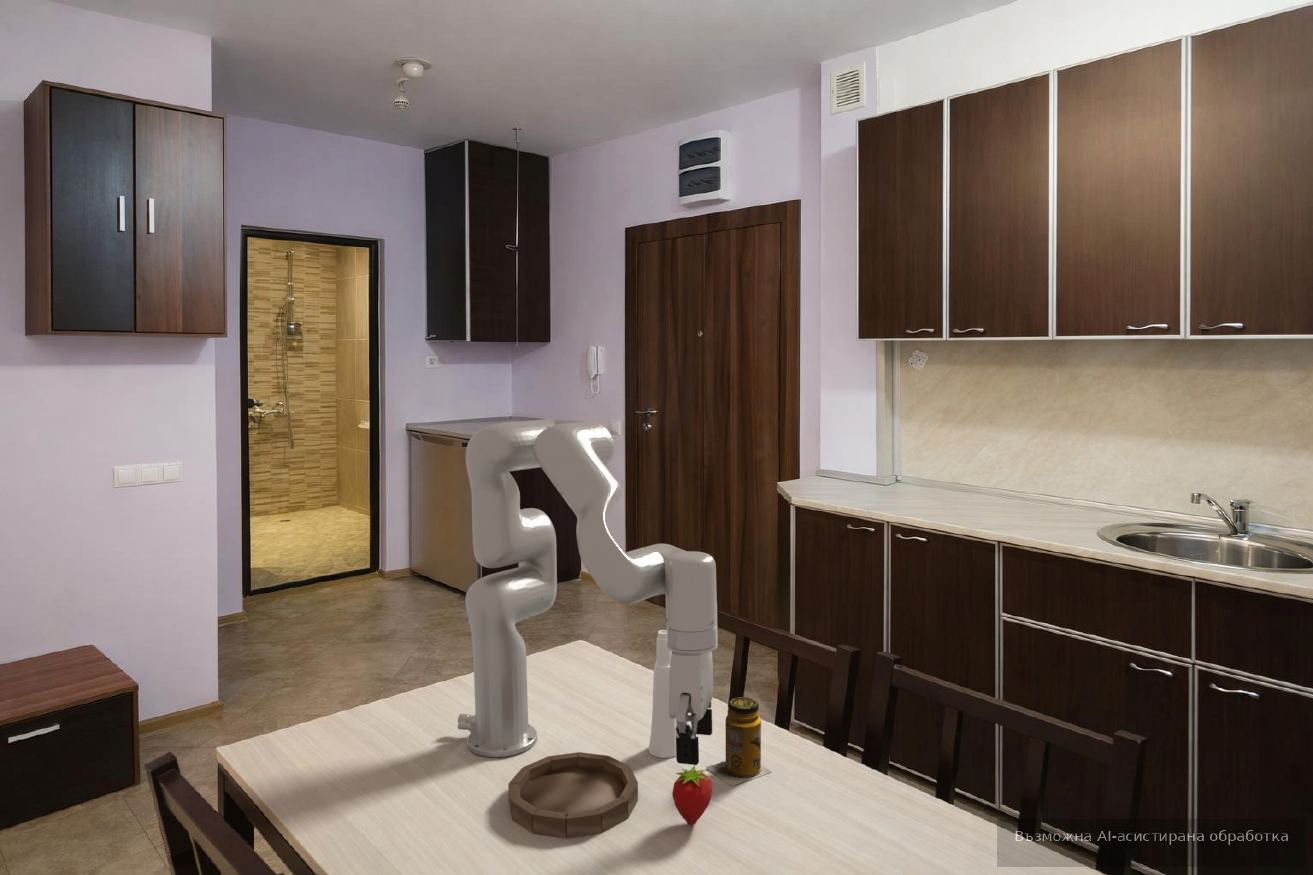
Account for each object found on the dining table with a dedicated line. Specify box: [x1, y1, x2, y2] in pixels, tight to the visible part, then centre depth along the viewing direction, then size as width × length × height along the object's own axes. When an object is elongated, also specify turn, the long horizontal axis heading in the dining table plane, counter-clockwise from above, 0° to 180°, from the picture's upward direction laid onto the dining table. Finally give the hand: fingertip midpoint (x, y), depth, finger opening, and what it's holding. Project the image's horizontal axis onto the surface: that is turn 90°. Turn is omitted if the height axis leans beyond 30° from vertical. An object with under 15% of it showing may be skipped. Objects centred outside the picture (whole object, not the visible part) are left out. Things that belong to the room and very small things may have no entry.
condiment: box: [706, 696, 772, 787], centre depth 142 cm, size 7×8×12 cm
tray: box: [507, 751, 639, 839], centre depth 133 cm, size 20×20×3 cm
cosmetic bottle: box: [647, 629, 677, 759], centre depth 149 cm, size 6×6×22 cm
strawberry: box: [671, 765, 713, 827], centre depth 126 cm, size 6×8×10 cm
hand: (695, 747), depth 124 cm, fingers open, 9 cm apart
